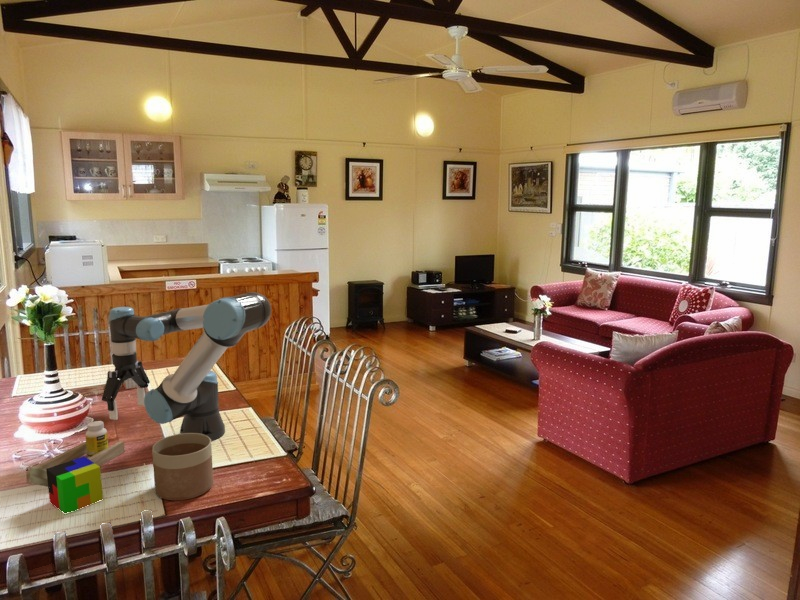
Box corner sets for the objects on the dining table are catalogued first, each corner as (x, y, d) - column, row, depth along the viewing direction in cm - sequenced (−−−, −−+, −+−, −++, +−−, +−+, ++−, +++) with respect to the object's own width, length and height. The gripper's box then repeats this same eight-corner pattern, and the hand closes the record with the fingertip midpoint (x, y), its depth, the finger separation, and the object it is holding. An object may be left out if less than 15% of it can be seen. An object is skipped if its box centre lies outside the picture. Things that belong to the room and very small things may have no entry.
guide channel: (124, 451, 195) (123, 437, 194) (59, 488, 171) (58, 472, 170) (94, 446, 199) (93, 432, 198) (27, 482, 174) (25, 467, 173)
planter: (165, 476, 179) (162, 433, 176) (218, 474, 180) (216, 432, 178) (147, 503, 163) (143, 456, 161) (205, 501, 165) (203, 455, 162)
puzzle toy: (87, 488, 171) (84, 456, 169) (103, 500, 165) (100, 466, 163) (49, 502, 164) (46, 468, 162) (65, 515, 157) (61, 480, 155)
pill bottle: (100, 460, 189) (97, 428, 187) (83, 458, 190) (79, 426, 188) (113, 452, 195) (110, 420, 193) (96, 450, 196) (93, 419, 194)
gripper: (140, 342, 214) (144, 398, 218) (86, 361, 190) (91, 423, 194) (158, 344, 212) (161, 401, 216) (105, 363, 188) (110, 426, 192)
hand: (128, 411), depth 205 cm, fingers open, 13 cm apart
